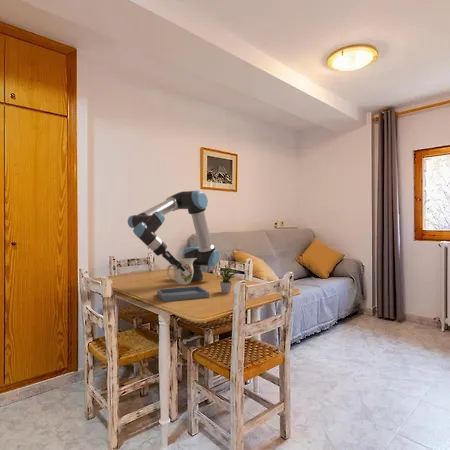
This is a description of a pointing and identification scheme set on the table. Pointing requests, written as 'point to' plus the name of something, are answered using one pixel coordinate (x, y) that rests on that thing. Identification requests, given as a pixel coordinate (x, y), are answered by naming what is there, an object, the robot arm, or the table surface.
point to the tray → (182, 293)
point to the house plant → (226, 280)
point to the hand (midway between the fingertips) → (185, 273)
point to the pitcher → (178, 274)
